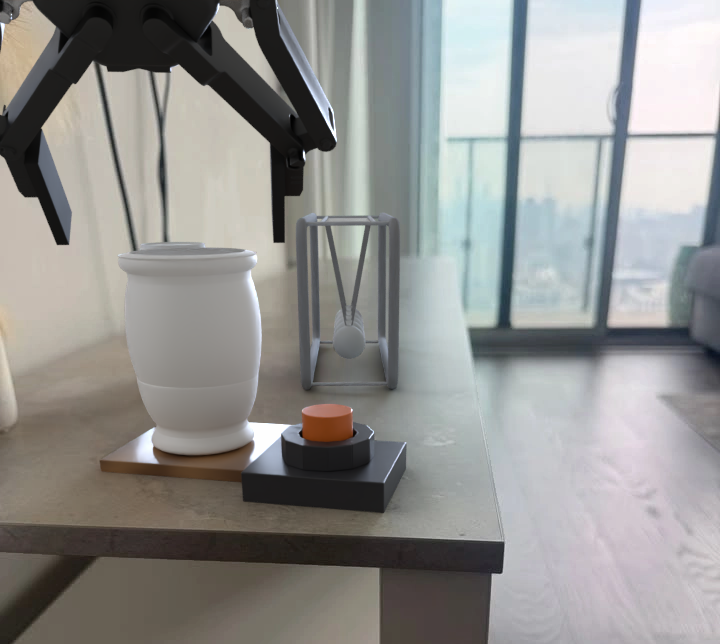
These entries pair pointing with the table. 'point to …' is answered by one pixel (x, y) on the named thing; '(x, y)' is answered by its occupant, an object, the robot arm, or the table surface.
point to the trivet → (190, 457)
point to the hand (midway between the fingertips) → (173, 228)
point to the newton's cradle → (348, 318)
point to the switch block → (326, 471)
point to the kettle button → (327, 422)
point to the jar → (194, 344)
